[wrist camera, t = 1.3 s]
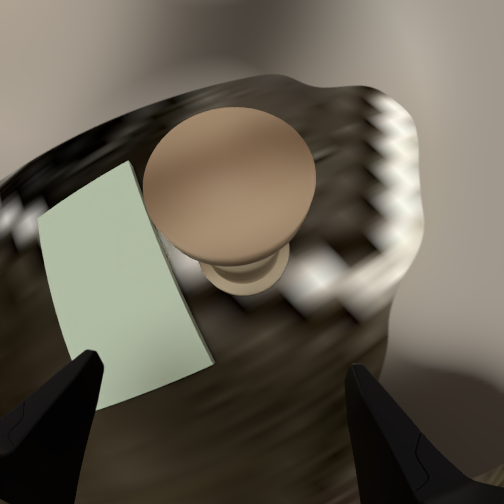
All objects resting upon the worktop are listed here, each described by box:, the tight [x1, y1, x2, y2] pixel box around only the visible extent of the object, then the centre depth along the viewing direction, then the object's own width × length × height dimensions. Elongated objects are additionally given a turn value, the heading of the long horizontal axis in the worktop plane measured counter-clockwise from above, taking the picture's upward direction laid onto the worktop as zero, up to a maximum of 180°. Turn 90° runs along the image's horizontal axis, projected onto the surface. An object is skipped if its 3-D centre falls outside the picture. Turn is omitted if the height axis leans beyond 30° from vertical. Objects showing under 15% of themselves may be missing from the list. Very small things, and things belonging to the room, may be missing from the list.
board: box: [38, 161, 215, 410], centre depth 23 cm, size 20×12×1 cm, turn 27°
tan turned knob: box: [143, 107, 316, 296], centre depth 18 cm, size 7×7×13 cm
